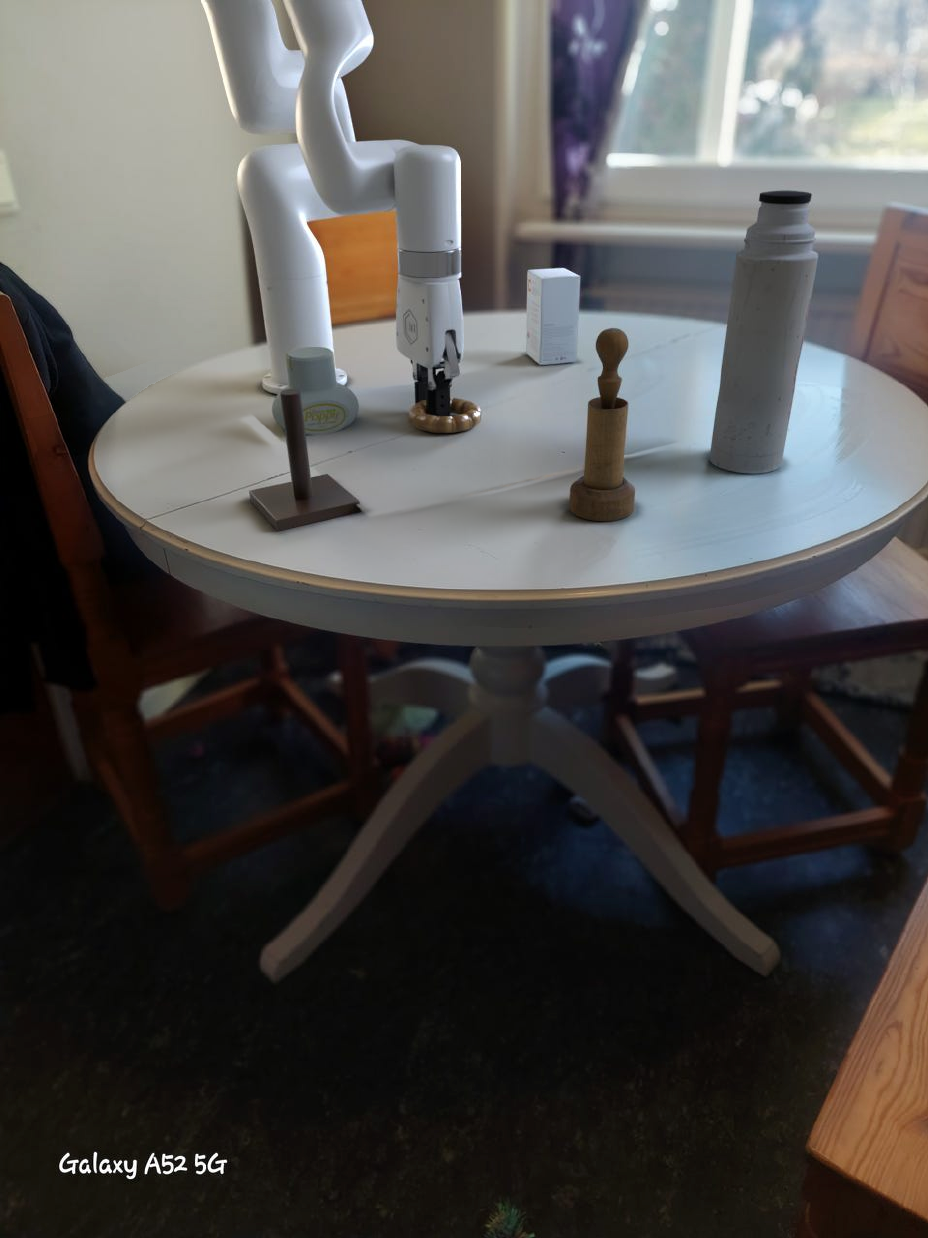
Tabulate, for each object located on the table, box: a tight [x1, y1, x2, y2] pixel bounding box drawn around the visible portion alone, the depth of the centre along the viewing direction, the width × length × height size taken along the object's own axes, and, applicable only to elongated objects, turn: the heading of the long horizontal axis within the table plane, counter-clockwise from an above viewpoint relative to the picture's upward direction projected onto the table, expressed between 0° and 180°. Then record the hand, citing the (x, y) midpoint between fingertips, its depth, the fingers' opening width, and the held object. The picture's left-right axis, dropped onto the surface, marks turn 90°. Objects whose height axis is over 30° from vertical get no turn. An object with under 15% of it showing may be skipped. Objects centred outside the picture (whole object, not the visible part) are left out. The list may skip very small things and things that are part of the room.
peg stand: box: [248, 389, 361, 532], centre depth 89 cm, size 9×9×12 cm
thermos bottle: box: [709, 189, 819, 475], centre depth 93 cm, size 8×8×28 cm
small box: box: [525, 267, 581, 366], centre depth 137 cm, size 8×6×13 cm
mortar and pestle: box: [568, 327, 636, 522], centre depth 85 cm, size 7×6×18 cm
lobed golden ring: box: [407, 397, 482, 434], centre depth 110 cm, size 9×9×2 cm
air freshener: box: [271, 347, 360, 436], centre depth 110 cm, size 11×8×10 cm
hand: (432, 412), depth 113 cm, fingers closed on lobed golden ring, 2 cm apart
